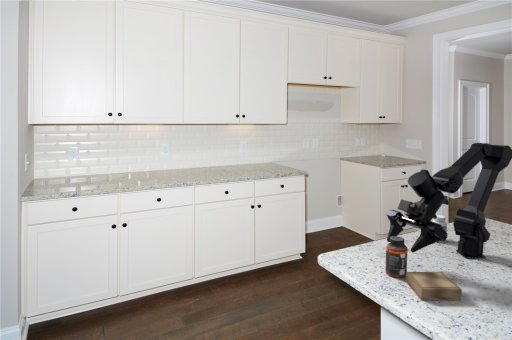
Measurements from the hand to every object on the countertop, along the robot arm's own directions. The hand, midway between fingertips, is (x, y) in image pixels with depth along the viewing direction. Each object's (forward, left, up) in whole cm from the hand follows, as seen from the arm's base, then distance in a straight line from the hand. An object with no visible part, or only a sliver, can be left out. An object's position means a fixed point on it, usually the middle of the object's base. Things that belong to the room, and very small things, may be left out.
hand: (399, 246), depth 100 cm
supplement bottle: (+1, 0, -9) cm, 9 cm away
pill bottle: (-25, -28, -9) cm, 38 cm away
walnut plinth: (-5, +10, -9) cm, 14 cm away
